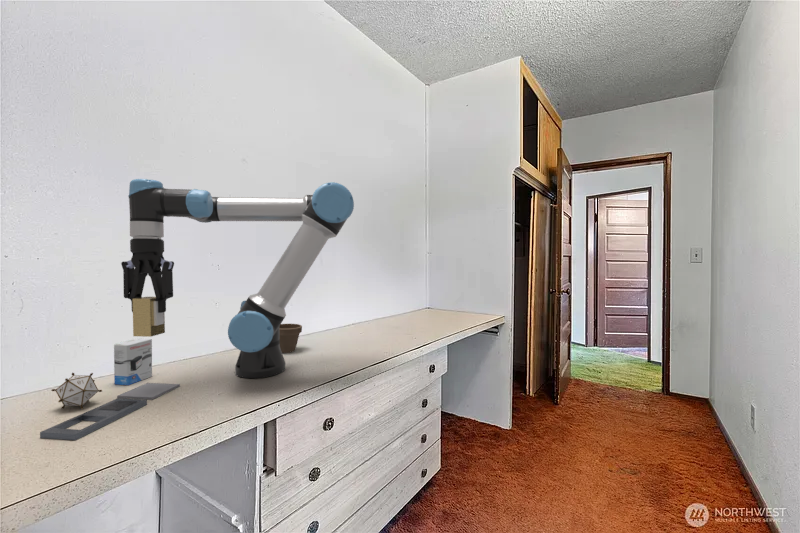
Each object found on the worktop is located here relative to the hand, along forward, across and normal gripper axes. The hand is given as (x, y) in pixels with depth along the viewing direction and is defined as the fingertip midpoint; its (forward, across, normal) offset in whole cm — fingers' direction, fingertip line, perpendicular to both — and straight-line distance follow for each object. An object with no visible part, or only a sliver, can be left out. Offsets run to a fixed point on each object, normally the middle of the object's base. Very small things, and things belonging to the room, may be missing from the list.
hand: (149, 324), depth 99 cm
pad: (+19, 0, 0) cm, 19 cm away
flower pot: (+19, -19, -46) cm, 53 cm away
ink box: (+19, +12, -8) cm, 24 cm away
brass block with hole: (+3, 0, 0) cm, 3 cm away
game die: (+19, +10, +11) cm, 24 cm away
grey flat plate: (+19, -1, +17) cm, 25 cm away
